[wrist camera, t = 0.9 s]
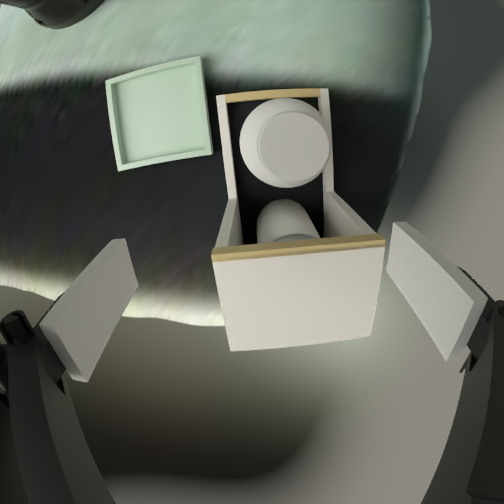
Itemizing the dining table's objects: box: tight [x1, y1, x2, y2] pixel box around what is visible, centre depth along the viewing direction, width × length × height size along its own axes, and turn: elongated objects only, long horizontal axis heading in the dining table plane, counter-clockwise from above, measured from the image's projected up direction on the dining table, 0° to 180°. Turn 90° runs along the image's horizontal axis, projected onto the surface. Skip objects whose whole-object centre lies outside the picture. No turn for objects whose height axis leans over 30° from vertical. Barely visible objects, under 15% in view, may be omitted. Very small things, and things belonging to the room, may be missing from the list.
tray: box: [105, 56, 214, 171], centre depth 30 cm, size 12×12×2 cm
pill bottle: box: [240, 98, 332, 188], centre depth 25 cm, size 8×8×15 cm
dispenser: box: [211, 89, 386, 351], centre depth 27 cm, size 22×13×17 cm, turn 6°
